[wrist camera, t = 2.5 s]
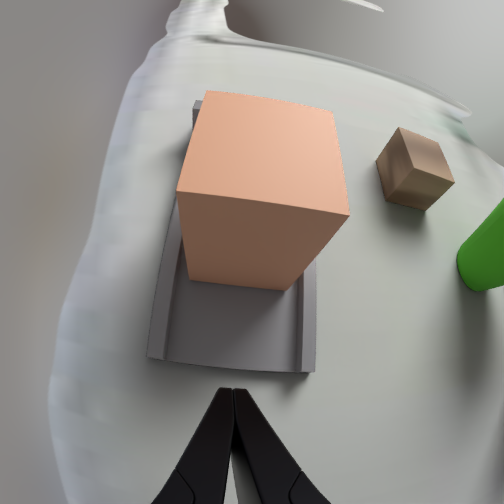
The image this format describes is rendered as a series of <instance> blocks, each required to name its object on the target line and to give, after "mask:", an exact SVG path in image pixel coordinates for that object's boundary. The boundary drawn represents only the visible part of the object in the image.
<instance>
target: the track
mask: <svg viewBox="0 0 504 504" xmlns="http://www.w3.org/2000/svg"><path fill="white" fill-rule="evenodd" d="M202 102H203V101H200V100H196V101H195V104H194V106H193V130H194V127H195V123H196V120H197V117H198V114H199V111H200V108H201V105H202ZM146 357H148V358H153V359H159V360H165V361H171V362H178V363H185V364H193V365H201V366H209V367H219V368H229V369H241V370H255V371H273V372H307V373H310V372H315V359H316V257H315V259H314V260H313V261H312V262H311V263H310V264H309V266H308V267H307V268H306V269H305V270H304V271H303V273H302V274H301V275H300V276H299V277H298V278H297V280H296V281H295V282H294V283H293V284H292V285H291V286H290V288H289V289H288V290H287V291H283V290H273V289H263V288H254V287H245V286H236V285H227V284H218V283H210V282H202V281H194V280H189V274H188V268H187V262H186V256H185V250H184V244H183V238H182V231H181V224H180V217H179V210H178V202H177V195H176V198H175V202H174V206H173V210H172V214H171V219H170V223H169V227H168V232H167V236H166V241H165V246H164V250H163V255H162V260H161V265H160V271H159V276H158V281H157V287H156V292H155V298H154V304H153V310H152V317H151V324H150V330H149V338H148V345H147V353H146Z"/></svg>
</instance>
